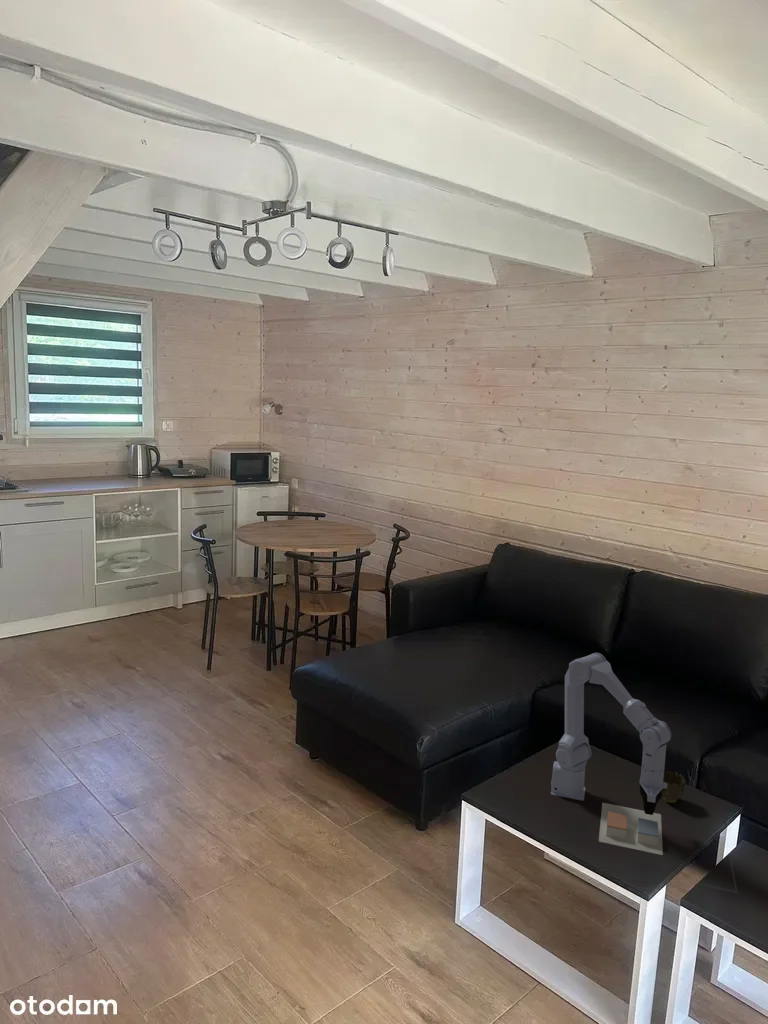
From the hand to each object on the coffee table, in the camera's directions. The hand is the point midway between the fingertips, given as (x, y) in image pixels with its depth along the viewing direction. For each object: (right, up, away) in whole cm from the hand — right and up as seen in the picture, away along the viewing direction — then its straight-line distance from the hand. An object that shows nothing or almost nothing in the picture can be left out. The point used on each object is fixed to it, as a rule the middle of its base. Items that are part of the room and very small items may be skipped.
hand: (648, 813), depth 197 cm
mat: (-4, -5, +2) cm, 7 cm away
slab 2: (0, -4, +1) cm, 4 cm away
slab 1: (-7, -3, +4) cm, 9 cm away
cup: (+12, -4, +17) cm, 21 cm away
